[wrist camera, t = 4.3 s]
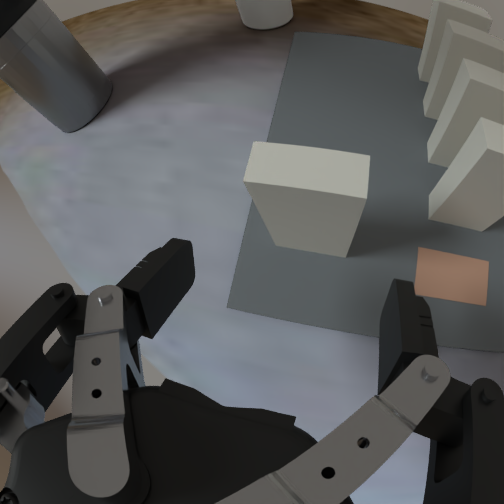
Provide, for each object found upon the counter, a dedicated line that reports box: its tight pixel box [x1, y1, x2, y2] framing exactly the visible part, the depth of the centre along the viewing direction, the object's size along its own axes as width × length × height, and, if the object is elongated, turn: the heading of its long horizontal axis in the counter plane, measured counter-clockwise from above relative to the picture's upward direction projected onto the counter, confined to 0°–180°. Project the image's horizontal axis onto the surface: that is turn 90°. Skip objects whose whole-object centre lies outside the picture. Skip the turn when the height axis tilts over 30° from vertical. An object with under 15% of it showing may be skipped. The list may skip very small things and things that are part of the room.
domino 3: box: [423, 19, 504, 120], centre depth 17 cm, size 5×2×10 cm, turn 77°
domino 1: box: [243, 141, 370, 258], centre depth 17 cm, size 5×2×10 cm, turn 77°
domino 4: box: [427, 58, 504, 168], centre depth 16 cm, size 5×2×10 cm, turn 77°
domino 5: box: [428, 117, 504, 232], centre depth 15 cm, size 5×2×10 cm, turn 77°
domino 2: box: [418, 0, 492, 83], centre depth 18 cm, size 5×2×10 cm, turn 77°
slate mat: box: [227, 32, 504, 352], centre depth 22 cm, size 22×30×1 cm
